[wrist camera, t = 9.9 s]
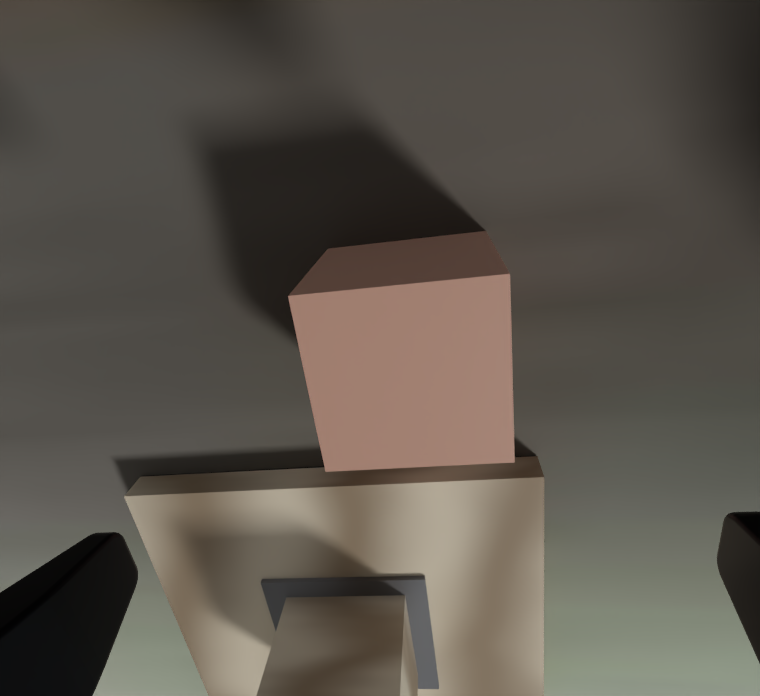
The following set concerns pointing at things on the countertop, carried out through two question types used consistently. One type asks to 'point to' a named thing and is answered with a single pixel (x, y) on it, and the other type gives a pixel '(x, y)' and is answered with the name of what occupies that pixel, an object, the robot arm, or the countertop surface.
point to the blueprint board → (357, 564)
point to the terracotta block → (408, 353)
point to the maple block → (342, 648)
